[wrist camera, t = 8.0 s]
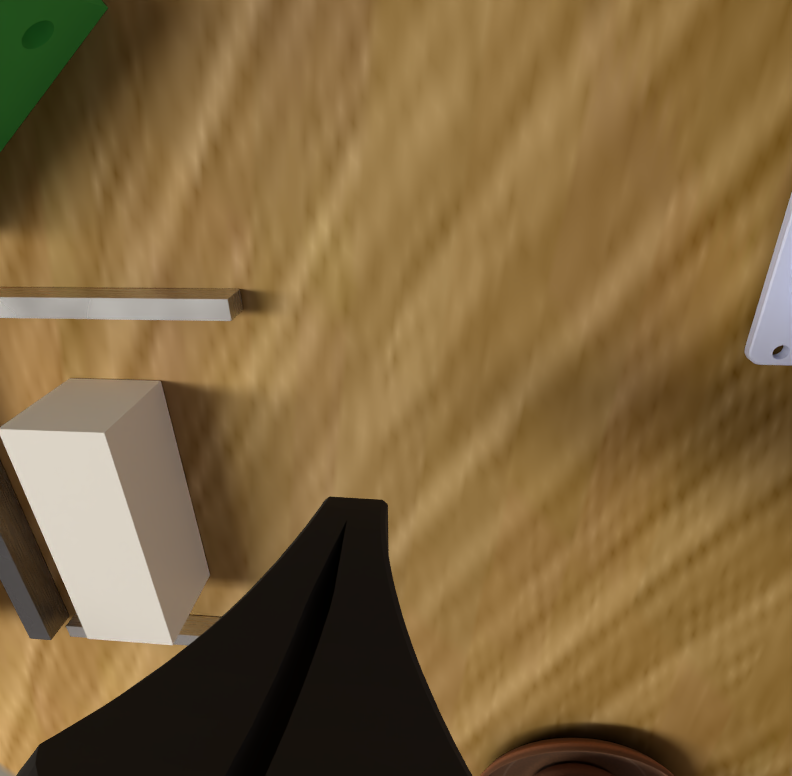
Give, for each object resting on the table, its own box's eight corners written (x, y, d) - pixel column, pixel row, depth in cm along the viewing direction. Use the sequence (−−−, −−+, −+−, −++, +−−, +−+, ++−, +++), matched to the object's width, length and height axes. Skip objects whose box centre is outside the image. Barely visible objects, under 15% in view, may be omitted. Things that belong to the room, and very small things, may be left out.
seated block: (160, 380, 22) (104, 432, 18) (210, 574, 27) (173, 645, 24) (69, 378, 22) (-3, 428, 19) (135, 570, 27) (87, 638, 24)
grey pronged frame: (106, -529, 11) (60, -612, 10) (295, 632, 28) (287, 658, 27) (-445, -443, 13) (-549, -506, 12) (49, 614, 30) (30, 638, 29)
